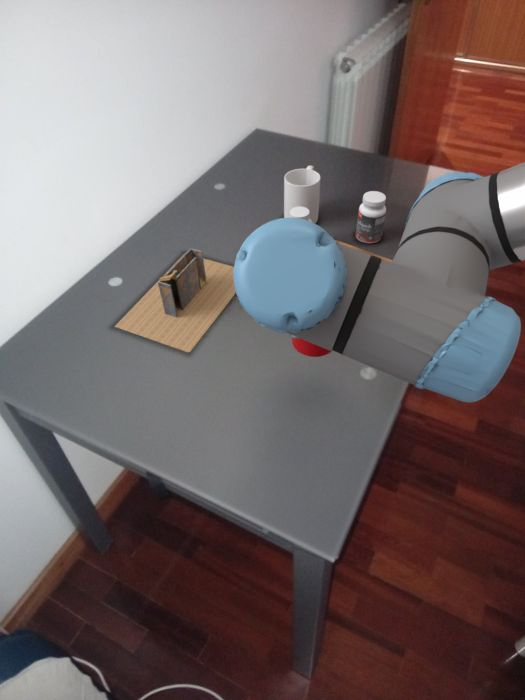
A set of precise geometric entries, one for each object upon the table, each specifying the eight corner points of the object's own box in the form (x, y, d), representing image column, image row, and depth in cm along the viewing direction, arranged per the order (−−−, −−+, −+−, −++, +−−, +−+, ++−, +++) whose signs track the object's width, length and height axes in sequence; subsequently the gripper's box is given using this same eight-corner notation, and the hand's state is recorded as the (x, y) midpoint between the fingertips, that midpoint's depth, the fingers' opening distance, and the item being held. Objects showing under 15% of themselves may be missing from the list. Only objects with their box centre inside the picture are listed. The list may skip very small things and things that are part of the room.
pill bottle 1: (292, 241, 108) (292, 202, 101) (314, 247, 107) (317, 207, 100) (282, 255, 105) (282, 215, 98) (305, 261, 103) (307, 221, 96)
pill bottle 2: (350, 236, 109) (354, 195, 102) (367, 227, 112) (373, 186, 104) (369, 247, 106) (375, 206, 99) (386, 237, 108) (394, 196, 101)
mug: (312, 231, 111) (315, 188, 103) (279, 225, 113) (279, 183, 105) (326, 204, 119) (329, 162, 111) (294, 199, 121) (295, 158, 113)
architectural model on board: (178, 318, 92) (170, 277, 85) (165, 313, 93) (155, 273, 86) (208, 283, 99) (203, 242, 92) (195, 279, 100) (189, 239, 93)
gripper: (202, 320, 48) (248, 326, 71) (403, 346, 45) (384, 343, 68) (211, 243, 48) (255, 274, 70) (414, 264, 45) (391, 289, 67)
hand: (318, 308), depth 69 cm, fingers closed on beverage can, 6 cm apart
